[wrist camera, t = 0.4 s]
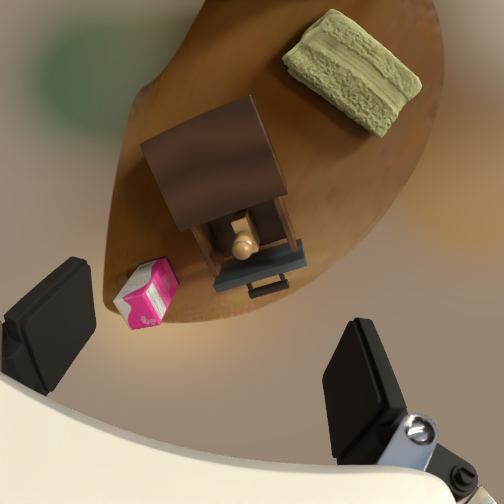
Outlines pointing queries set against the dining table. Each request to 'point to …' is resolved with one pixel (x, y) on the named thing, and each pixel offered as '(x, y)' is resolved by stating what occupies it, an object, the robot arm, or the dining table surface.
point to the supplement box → (147, 294)
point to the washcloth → (352, 72)
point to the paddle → (244, 235)
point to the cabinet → (215, 164)
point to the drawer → (258, 264)
